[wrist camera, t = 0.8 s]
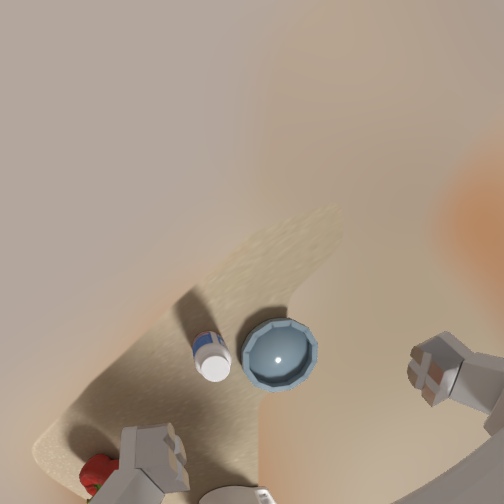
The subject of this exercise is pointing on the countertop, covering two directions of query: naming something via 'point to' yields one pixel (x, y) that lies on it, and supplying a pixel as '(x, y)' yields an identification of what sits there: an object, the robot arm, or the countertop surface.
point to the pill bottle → (211, 356)
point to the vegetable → (97, 473)
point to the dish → (279, 354)
